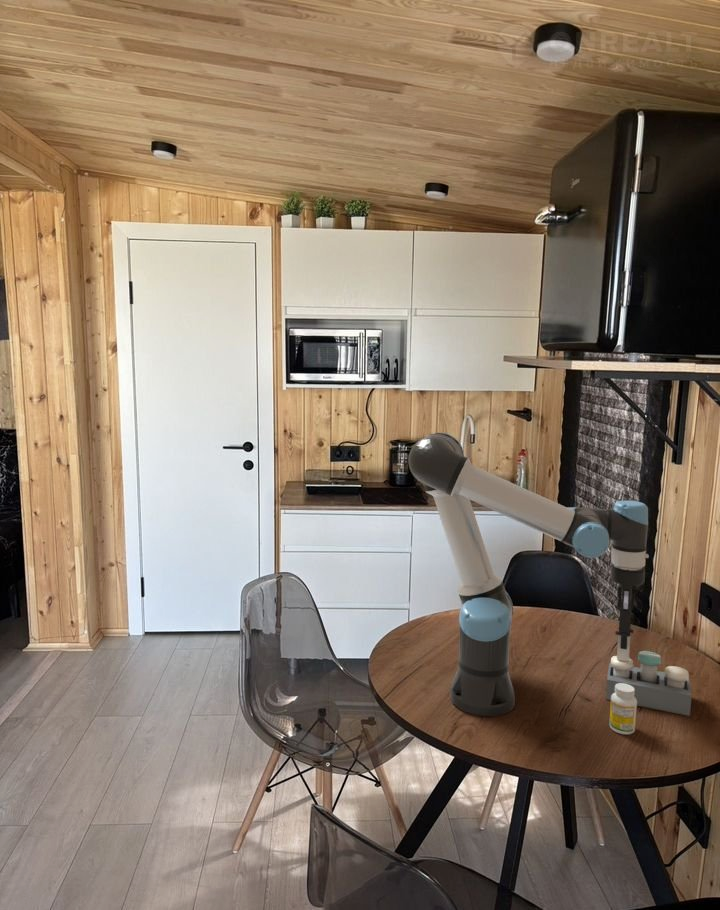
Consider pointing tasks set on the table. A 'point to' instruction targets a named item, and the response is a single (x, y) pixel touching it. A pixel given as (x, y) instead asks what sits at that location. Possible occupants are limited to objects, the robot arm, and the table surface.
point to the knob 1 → (621, 667)
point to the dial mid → (649, 666)
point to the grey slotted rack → (653, 692)
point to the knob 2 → (676, 676)
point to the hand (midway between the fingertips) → (622, 659)
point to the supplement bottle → (623, 709)
